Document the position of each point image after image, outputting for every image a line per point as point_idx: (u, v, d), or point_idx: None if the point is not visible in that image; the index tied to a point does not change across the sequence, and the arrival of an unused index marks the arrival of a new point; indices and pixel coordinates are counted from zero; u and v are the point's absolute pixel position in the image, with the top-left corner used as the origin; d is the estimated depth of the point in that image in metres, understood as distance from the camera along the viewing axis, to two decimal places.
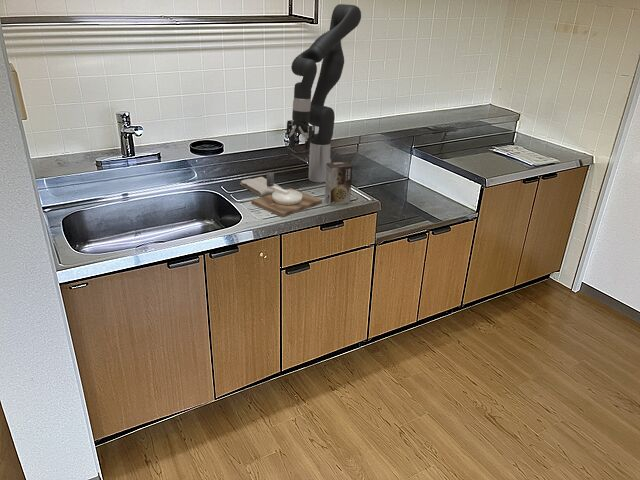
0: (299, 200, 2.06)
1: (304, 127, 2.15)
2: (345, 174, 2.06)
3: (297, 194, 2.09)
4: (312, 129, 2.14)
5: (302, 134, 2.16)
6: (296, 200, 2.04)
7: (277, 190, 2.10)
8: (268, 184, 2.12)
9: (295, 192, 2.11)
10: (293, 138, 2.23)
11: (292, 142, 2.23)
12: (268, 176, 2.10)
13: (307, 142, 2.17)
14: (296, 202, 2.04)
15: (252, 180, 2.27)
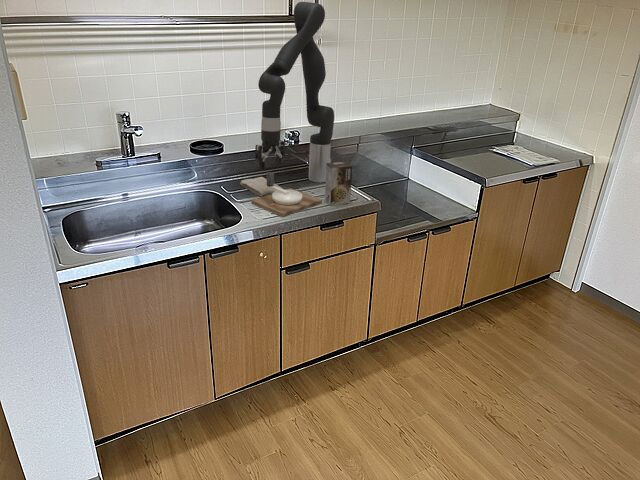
0: (299, 200, 2.06)
1: (278, 145, 2.08)
2: (345, 174, 2.06)
3: (297, 194, 2.09)
4: None
5: (278, 152, 2.08)
6: (296, 200, 2.04)
7: (277, 190, 2.10)
8: (268, 184, 2.12)
9: (295, 192, 2.11)
10: None
11: None
12: (268, 176, 2.10)
13: (280, 158, 2.12)
14: (296, 202, 2.04)
15: (252, 180, 2.27)
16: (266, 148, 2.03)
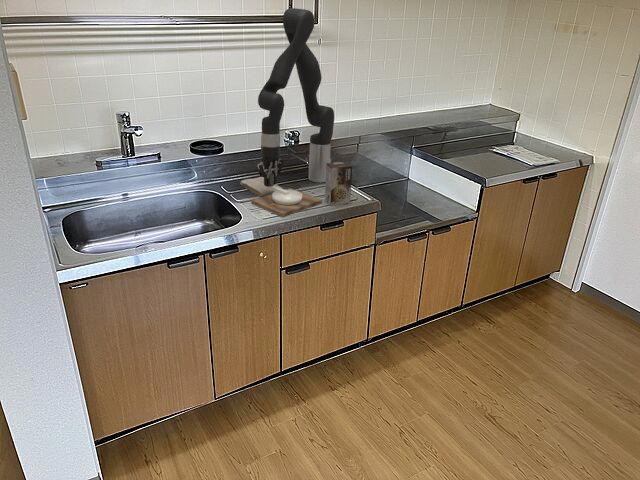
0: (299, 200, 2.06)
1: (277, 162, 2.11)
2: (345, 174, 2.06)
3: (297, 194, 2.09)
4: None
5: (276, 169, 2.10)
6: (296, 200, 2.04)
7: (277, 190, 2.10)
8: None
9: (295, 192, 2.11)
10: None
11: None
12: None
13: (276, 176, 2.13)
14: (296, 202, 2.04)
15: (252, 180, 2.27)
16: (266, 165, 2.07)
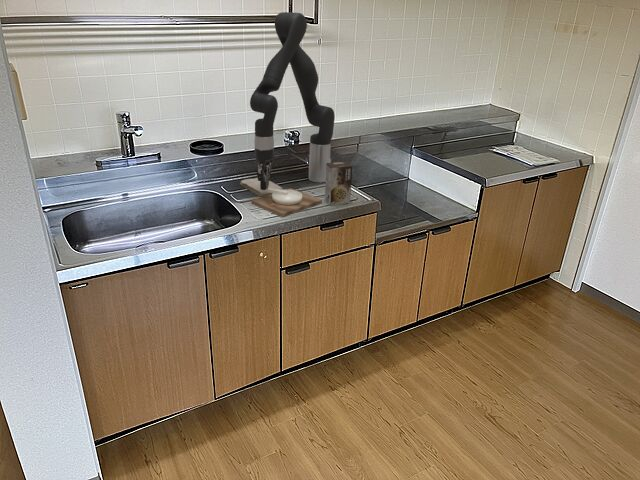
0: (301, 198, 2.08)
1: None
2: (345, 174, 2.06)
3: (295, 192, 2.10)
4: None
5: (269, 170, 2.08)
6: (300, 199, 2.06)
7: (275, 191, 2.08)
8: None
9: (291, 191, 2.12)
10: None
11: None
12: None
13: None
14: (300, 200, 2.06)
15: (252, 180, 2.27)
16: (264, 169, 2.03)
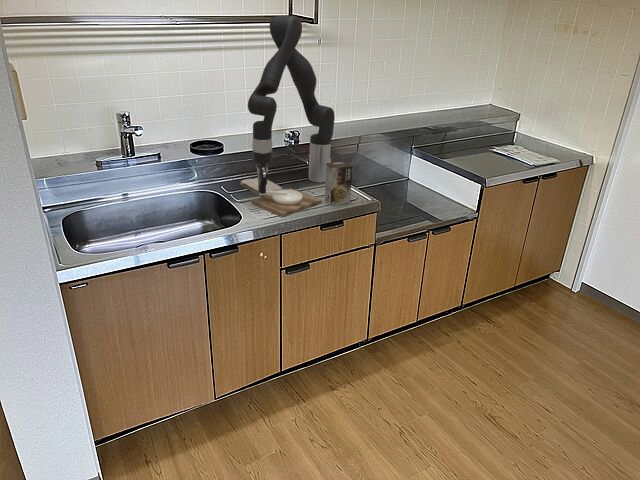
0: None
1: None
2: (345, 174, 2.06)
3: (292, 191, 2.11)
4: None
5: None
6: None
7: (275, 193, 2.06)
8: None
9: (287, 190, 2.12)
10: None
11: None
12: None
13: None
14: None
15: (252, 180, 2.27)
16: (266, 172, 2.00)
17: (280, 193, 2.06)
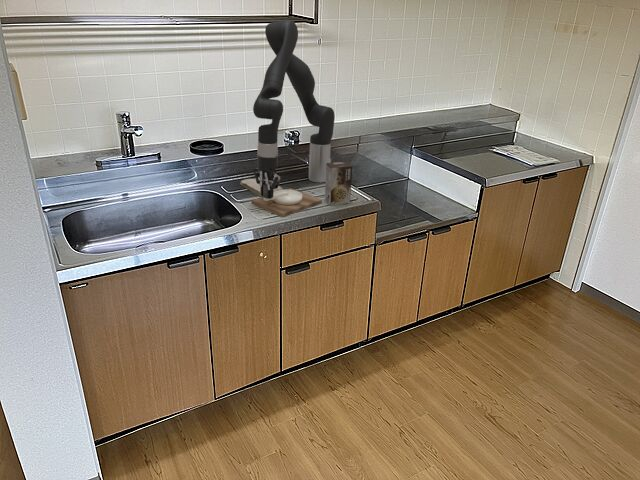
0: None
1: None
2: (345, 174, 2.06)
3: (286, 191, 2.12)
4: None
5: None
6: None
7: (279, 196, 2.04)
8: None
9: (280, 191, 2.11)
10: None
11: None
12: None
13: None
14: None
15: (252, 180, 2.27)
16: None
17: (283, 194, 2.05)
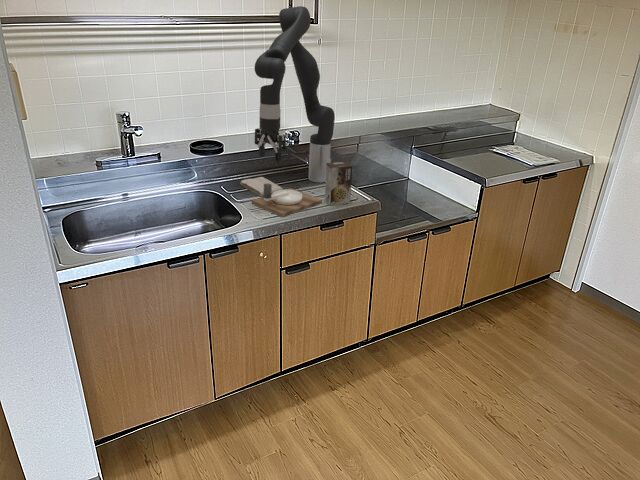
0: None
1: None
2: (345, 174, 2.06)
3: (285, 191, 2.11)
4: None
5: None
6: None
7: (279, 196, 2.04)
8: (270, 195, 2.00)
9: (280, 191, 2.11)
10: None
11: None
12: (270, 187, 1.99)
13: None
14: None
15: (252, 180, 2.27)
16: None
17: (283, 194, 2.05)
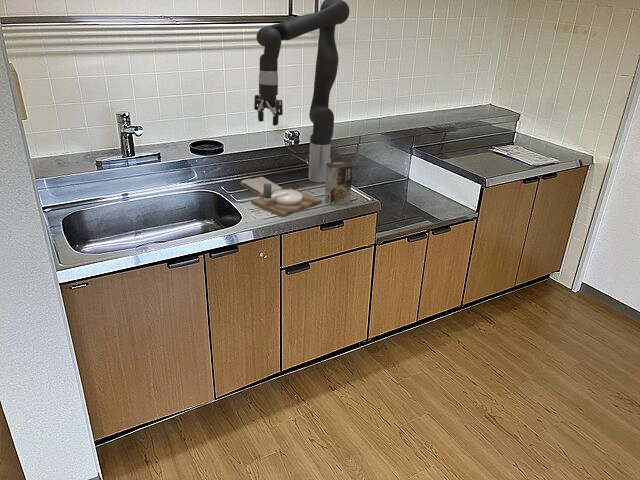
0: None
1: None
2: (345, 174, 2.06)
3: (285, 191, 2.11)
4: None
5: None
6: None
7: (279, 196, 2.04)
8: (270, 195, 2.00)
9: (280, 191, 2.11)
10: None
11: None
12: (270, 187, 1.99)
13: None
14: None
15: (252, 180, 2.27)
16: None
17: (283, 194, 2.05)
